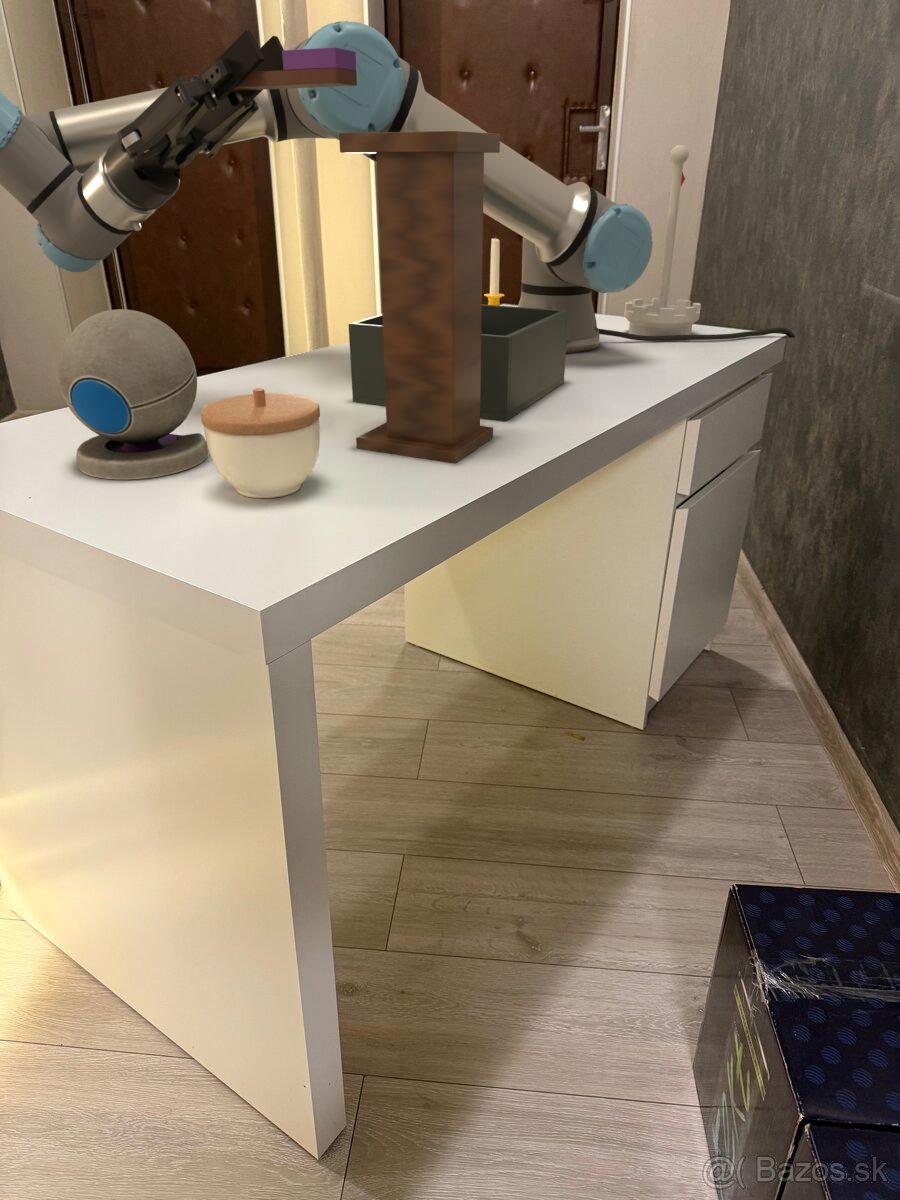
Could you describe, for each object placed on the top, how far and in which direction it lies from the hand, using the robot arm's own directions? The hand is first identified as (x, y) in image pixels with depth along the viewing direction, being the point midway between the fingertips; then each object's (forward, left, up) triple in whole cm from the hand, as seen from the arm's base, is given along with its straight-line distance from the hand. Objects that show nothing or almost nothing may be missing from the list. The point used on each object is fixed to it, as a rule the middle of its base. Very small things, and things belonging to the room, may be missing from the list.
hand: (268, 47), depth 81 cm
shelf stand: (-9, +14, -37) cm, 41 cm away
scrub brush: (0, 0, -3) cm, 3 cm away
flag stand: (-78, -19, -38) cm, 88 cm away
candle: (-59, -44, -38) cm, 83 cm away
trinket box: (+11, +18, -38) cm, 43 cm away
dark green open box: (-25, -3, -37) cm, 45 cm away
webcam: (+19, +3, -38) cm, 42 cm away
